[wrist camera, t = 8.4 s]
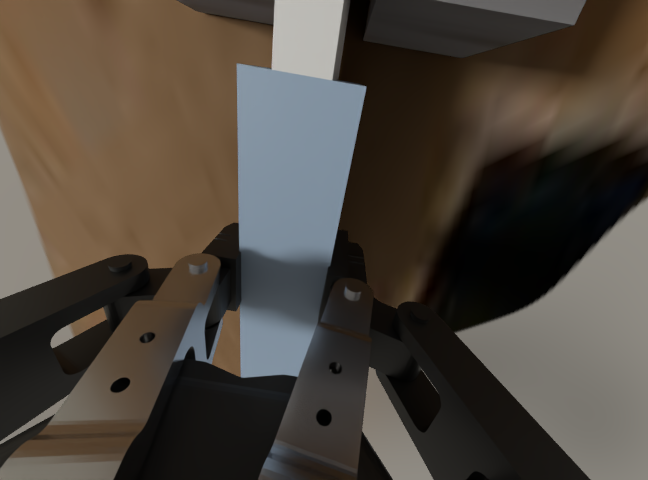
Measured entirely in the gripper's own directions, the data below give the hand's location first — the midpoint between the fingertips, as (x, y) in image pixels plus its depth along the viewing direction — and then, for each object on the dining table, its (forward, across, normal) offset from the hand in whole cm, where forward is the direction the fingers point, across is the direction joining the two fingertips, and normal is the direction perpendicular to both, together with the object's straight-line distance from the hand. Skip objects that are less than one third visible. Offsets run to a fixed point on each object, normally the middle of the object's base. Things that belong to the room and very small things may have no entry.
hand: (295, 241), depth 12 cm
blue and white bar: (+2, 0, -2) cm, 3 cm away
